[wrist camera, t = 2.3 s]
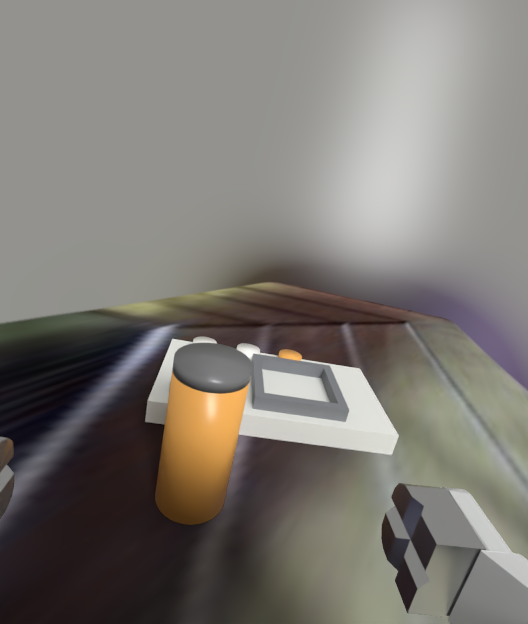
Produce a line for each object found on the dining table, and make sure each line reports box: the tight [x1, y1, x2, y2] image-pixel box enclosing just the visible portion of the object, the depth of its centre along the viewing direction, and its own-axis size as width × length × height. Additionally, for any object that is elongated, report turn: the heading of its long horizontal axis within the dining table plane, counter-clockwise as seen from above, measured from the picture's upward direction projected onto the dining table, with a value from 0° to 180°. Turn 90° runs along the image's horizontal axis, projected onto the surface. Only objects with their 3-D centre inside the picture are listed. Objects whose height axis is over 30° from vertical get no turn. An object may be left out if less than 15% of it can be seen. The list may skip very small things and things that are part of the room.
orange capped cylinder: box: [155, 343, 253, 525], centre depth 25 cm, size 4×4×10 cm
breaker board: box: [145, 337, 398, 455], centre depth 39 cm, size 21×12×3 cm, turn 93°
